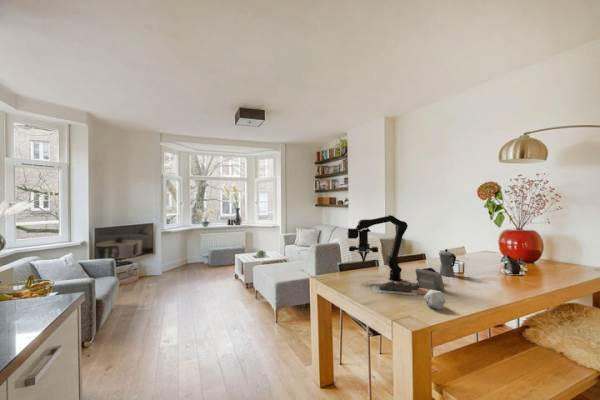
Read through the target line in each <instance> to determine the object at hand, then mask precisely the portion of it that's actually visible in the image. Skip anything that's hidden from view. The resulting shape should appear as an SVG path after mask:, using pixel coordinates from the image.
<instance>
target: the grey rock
mask: <svg viewBox="0 0 600 400" xmlns="http://www.w3.org/2000/svg"><path fill="white" fill-rule="evenodd" d="M423 297H424V300H425V303H426V305H427V307H428V308H431V309H435V310H441V309H442V307H443V306H444V305H445V304H446V300H445V297H444V294H443V291H442V290H431V289H430V290H429V291H428V292H427V294H424V296H423Z"/></svg>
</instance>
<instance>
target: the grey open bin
mask: <svg viewBox="0 0 600 400" xmlns="http://www.w3.org/2000/svg"><path fill="white" fill-rule="evenodd" d="M421 269H422V270H426V271H431V272H436V273H439V272H438V271H436V270H435V269H434V268H432V267H427V268H421ZM416 281H417V282H418V280H417V279H416Z"/></svg>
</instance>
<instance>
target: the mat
mask: <svg viewBox="0 0 600 400" xmlns="http://www.w3.org/2000/svg"><path fill="white" fill-rule="evenodd" d="M371 292H377V293H378V292H379V293H390V294H403V295H411V296H413V295H416V296H417V293H412V292H411V290H410V291H407V292H404V291H403V290H400V291H395V289H393V290H389V291H388V290H387V288H386V289H383V290H380V289H379V285H373V286H372V290H371Z"/></svg>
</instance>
